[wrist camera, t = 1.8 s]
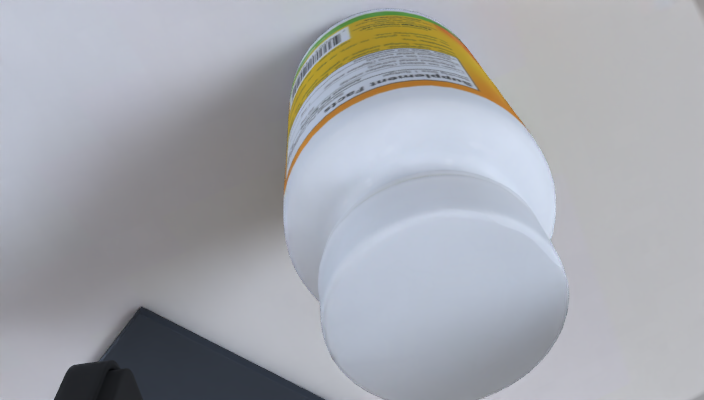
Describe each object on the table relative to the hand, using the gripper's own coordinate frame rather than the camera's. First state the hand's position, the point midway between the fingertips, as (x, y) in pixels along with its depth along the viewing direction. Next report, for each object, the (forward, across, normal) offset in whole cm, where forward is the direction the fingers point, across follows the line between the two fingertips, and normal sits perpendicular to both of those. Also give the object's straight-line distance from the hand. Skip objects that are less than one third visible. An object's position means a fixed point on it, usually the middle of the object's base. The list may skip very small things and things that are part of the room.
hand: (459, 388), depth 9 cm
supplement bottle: (+11, 0, 0) cm, 11 cm away
